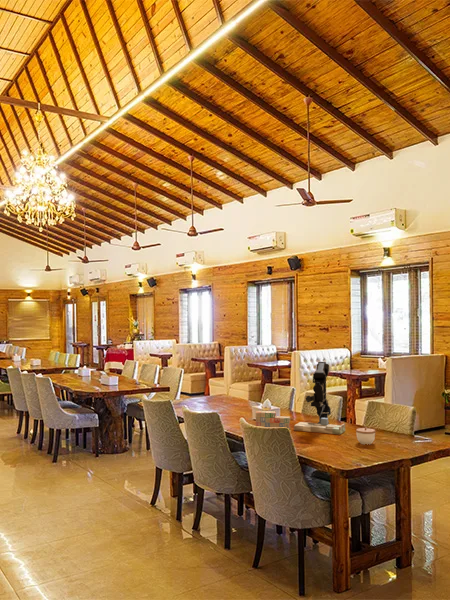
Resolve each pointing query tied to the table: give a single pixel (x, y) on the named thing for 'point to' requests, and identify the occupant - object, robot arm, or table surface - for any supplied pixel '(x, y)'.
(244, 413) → the table surface
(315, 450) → the table surface
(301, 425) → the board
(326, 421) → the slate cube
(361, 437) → the lidded jar
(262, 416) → the stack of blocks
